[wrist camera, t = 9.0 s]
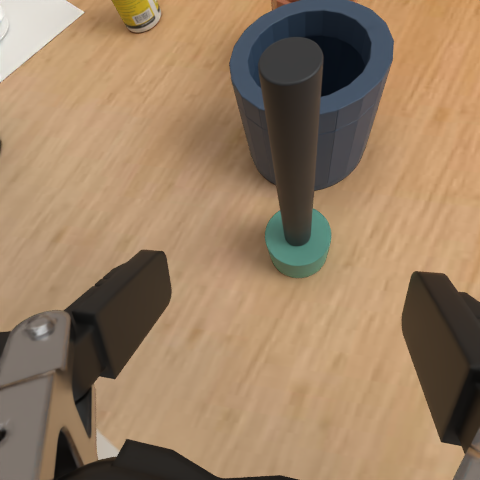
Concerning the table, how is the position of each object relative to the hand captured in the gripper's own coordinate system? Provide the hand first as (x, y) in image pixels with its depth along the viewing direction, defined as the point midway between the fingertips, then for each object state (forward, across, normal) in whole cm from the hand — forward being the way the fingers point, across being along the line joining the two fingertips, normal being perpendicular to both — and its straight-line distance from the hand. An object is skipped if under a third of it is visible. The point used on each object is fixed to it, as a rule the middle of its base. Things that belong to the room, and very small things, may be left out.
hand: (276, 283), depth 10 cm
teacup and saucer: (+40, +49, -17) cm, 65 cm away
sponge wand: (+16, 0, +7) cm, 17 cm away
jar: (+24, 0, -1) cm, 24 cm away
